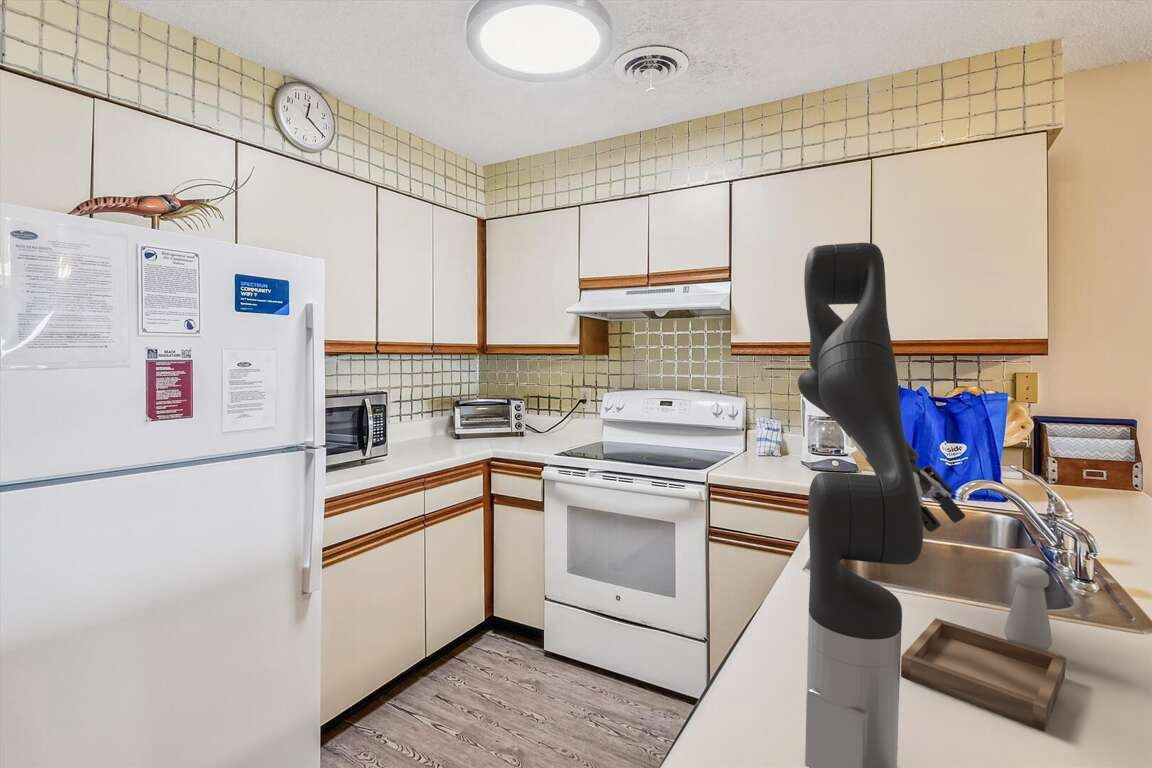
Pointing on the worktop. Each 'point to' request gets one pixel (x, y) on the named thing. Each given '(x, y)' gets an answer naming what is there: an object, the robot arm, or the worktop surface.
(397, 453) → the worktop surface
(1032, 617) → the salt shaker
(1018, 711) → the walnut tray
